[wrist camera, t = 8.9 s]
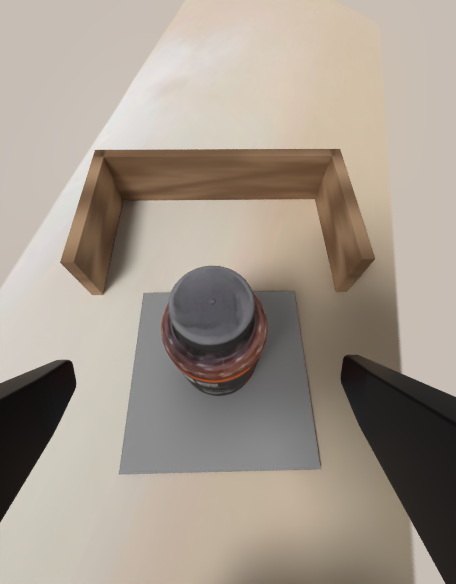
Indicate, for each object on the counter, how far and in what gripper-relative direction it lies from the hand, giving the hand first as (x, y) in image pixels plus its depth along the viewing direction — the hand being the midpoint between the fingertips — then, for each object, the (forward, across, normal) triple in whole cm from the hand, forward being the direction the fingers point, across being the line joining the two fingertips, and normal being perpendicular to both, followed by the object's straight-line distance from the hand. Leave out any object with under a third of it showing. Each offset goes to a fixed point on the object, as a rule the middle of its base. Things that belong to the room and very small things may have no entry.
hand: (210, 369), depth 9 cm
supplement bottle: (+12, 0, +7) cm, 14 cm away
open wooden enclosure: (+21, 0, -2) cm, 21 cm away
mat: (+12, 0, +8) cm, 14 cm away
